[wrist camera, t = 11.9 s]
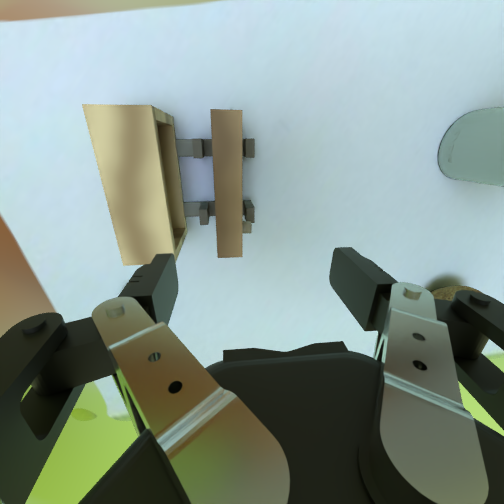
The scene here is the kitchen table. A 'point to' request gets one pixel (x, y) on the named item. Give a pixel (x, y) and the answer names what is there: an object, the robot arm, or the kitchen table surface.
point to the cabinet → (148, 178)
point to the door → (228, 181)
